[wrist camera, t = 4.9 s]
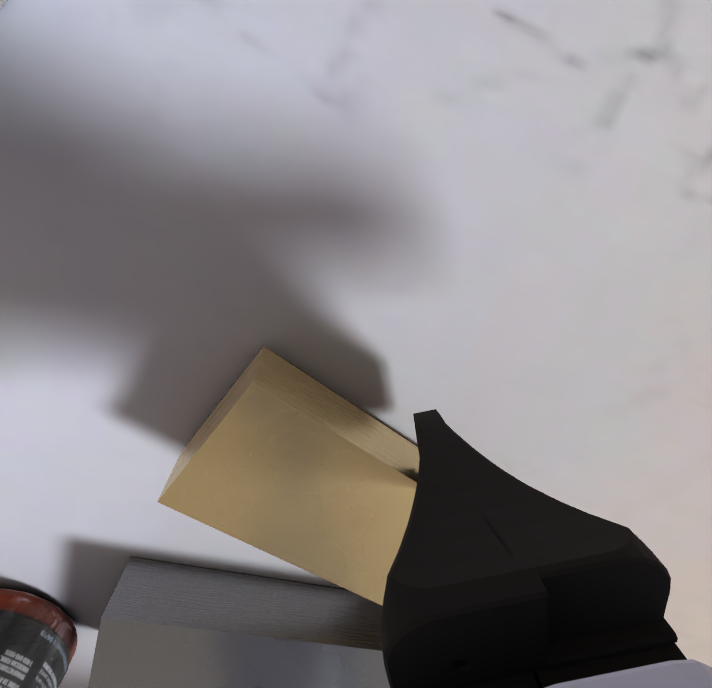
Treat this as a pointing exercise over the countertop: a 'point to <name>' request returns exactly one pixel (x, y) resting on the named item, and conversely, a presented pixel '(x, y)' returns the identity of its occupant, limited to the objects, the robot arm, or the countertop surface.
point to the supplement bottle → (33, 641)
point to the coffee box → (2, 2)
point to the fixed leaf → (234, 632)
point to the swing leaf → (300, 477)
